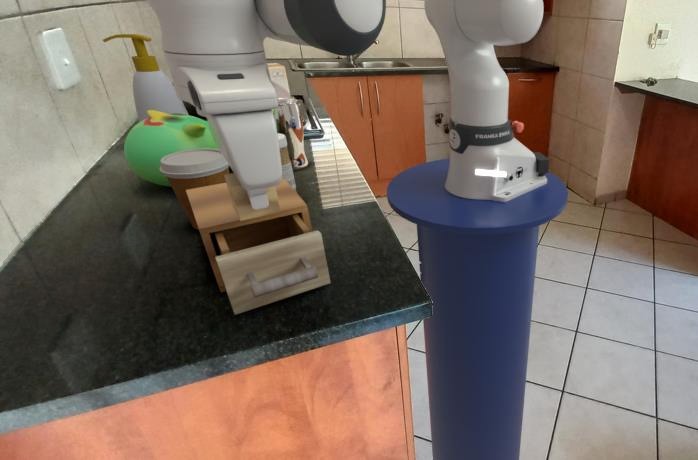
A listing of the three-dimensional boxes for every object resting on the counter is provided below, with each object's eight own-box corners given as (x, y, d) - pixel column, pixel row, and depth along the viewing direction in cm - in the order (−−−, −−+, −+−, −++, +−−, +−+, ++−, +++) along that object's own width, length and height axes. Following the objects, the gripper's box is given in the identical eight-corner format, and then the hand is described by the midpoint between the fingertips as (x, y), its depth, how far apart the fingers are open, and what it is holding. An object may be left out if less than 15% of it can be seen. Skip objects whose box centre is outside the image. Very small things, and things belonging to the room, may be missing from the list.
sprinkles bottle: (290, 197, 85) (275, 130, 78) (305, 203, 83) (290, 135, 76) (268, 205, 81) (250, 136, 75) (283, 211, 79) (266, 141, 73)
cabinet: (318, 263, 65) (307, 205, 60) (220, 292, 57) (198, 229, 53) (291, 225, 75) (279, 173, 70) (205, 246, 67) (185, 189, 63)
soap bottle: (149, 145, 108) (107, 32, 95) (204, 141, 113) (170, 32, 100) (140, 159, 99) (93, 36, 87) (200, 153, 104) (163, 37, 92)
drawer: (342, 299, 56) (333, 248, 52) (242, 336, 49) (223, 280, 45) (301, 242, 68) (292, 197, 64) (216, 265, 61) (200, 216, 57)
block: (272, 200, 55) (264, 168, 53) (281, 212, 52) (273, 179, 50) (233, 207, 53) (223, 174, 51) (240, 221, 50) (230, 186, 48)
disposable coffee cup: (190, 213, 77) (168, 149, 71) (250, 208, 80) (233, 146, 74) (173, 238, 69) (146, 168, 63) (240, 231, 72) (220, 164, 66)
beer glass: (308, 170, 98) (295, 104, 91) (275, 171, 96) (259, 104, 89) (312, 160, 104) (301, 97, 97) (281, 161, 102) (267, 97, 95)
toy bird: (162, 169, 95) (137, 101, 88) (247, 165, 99) (230, 100, 92) (122, 202, 79) (88, 124, 72) (224, 195, 84) (202, 121, 77)
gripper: (177, 67, 50) (211, 176, 57) (201, 99, 37) (241, 239, 43) (238, 65, 54) (263, 168, 60) (280, 94, 40) (306, 223, 47)
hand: (254, 198), depth 52 cm, fingers closed on block, 4 cm apart
